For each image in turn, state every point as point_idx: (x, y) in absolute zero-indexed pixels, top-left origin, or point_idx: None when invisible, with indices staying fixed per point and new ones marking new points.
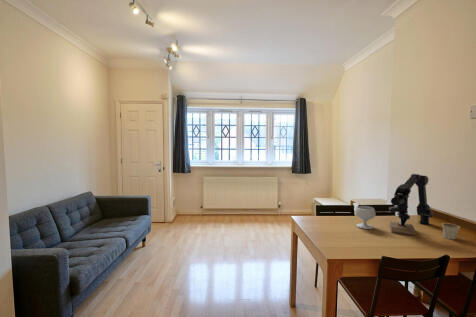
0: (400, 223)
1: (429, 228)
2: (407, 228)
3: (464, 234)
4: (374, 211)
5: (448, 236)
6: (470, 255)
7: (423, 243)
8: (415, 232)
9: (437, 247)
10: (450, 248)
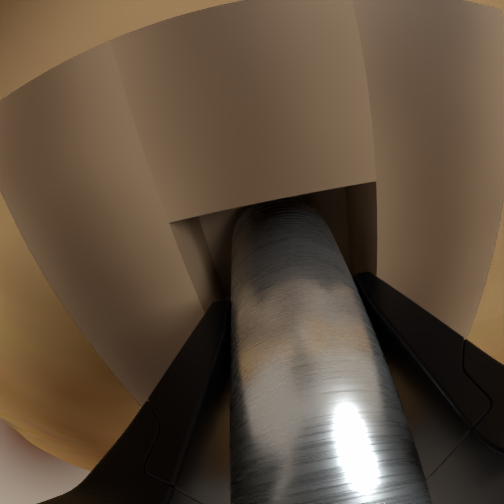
0: (246, 301)
1: None
2: (142, 365)
3: None
4: None
5: None
6: (91, 470)
7: (32, 384)
8: None
9: (50, 423)
10: (100, 453)
